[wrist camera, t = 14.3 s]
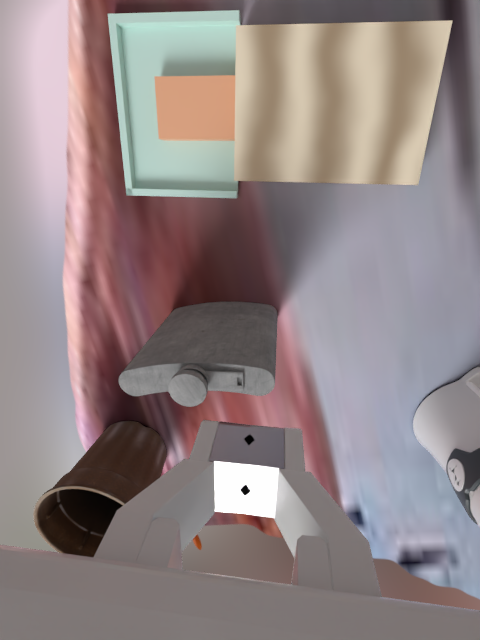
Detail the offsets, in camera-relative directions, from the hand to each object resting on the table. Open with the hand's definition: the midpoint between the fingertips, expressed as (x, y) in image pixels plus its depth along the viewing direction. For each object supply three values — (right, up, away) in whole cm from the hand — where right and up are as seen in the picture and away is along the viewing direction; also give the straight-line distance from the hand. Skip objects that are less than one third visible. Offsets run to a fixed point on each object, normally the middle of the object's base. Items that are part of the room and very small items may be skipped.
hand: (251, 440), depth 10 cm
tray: (-7, +28, +30) cm, 41 cm away
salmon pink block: (-5, +28, +29) cm, 40 cm away
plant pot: (-19, -19, +51) cm, 58 cm away
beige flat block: (+9, +27, +28) cm, 40 cm away
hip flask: (-3, +5, +39) cm, 40 cm away
